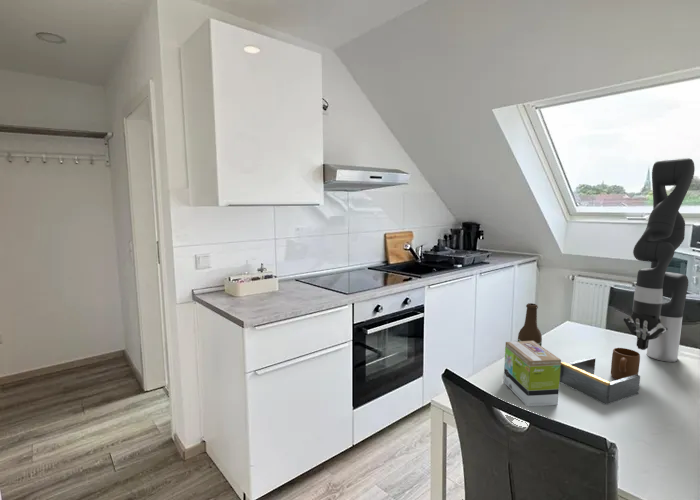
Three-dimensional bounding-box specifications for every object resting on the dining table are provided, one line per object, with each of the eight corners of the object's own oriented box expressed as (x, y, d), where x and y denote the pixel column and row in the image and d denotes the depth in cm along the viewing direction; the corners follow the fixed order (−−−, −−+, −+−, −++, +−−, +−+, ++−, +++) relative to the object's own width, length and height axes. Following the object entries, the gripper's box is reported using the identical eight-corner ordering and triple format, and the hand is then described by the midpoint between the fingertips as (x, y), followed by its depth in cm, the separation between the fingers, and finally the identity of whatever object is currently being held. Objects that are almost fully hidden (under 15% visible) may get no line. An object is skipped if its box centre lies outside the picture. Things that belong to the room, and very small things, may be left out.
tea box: (502, 383, 126) (504, 340, 124) (530, 381, 127) (533, 339, 125) (526, 407, 112) (529, 359, 109) (559, 406, 112) (563, 358, 110)
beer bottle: (538, 366, 139) (542, 302, 136) (541, 375, 132) (546, 308, 128) (515, 362, 142) (519, 300, 138) (516, 371, 134) (521, 306, 131)
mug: (634, 390, 121) (637, 362, 120) (606, 383, 126) (608, 356, 125) (638, 377, 130) (641, 351, 129) (612, 370, 135) (614, 345, 134)
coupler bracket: (590, 373, 133) (592, 354, 132) (638, 393, 119) (640, 373, 118) (559, 381, 127) (560, 362, 126) (605, 404, 113) (607, 383, 112)
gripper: (677, 303, 124) (670, 354, 126) (633, 294, 136) (628, 341, 138) (663, 305, 121) (656, 357, 123) (620, 296, 133) (614, 343, 135)
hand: (641, 348), depth 130 cm, fingers closed
